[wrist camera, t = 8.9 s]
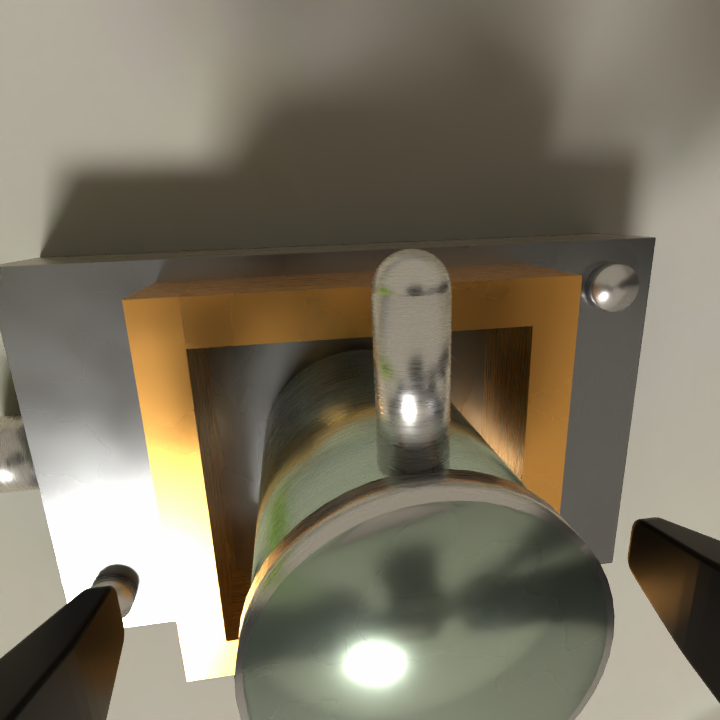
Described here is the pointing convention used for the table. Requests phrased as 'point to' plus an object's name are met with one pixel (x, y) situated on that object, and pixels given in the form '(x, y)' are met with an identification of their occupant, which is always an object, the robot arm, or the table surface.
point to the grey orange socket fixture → (267, 379)
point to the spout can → (409, 545)
